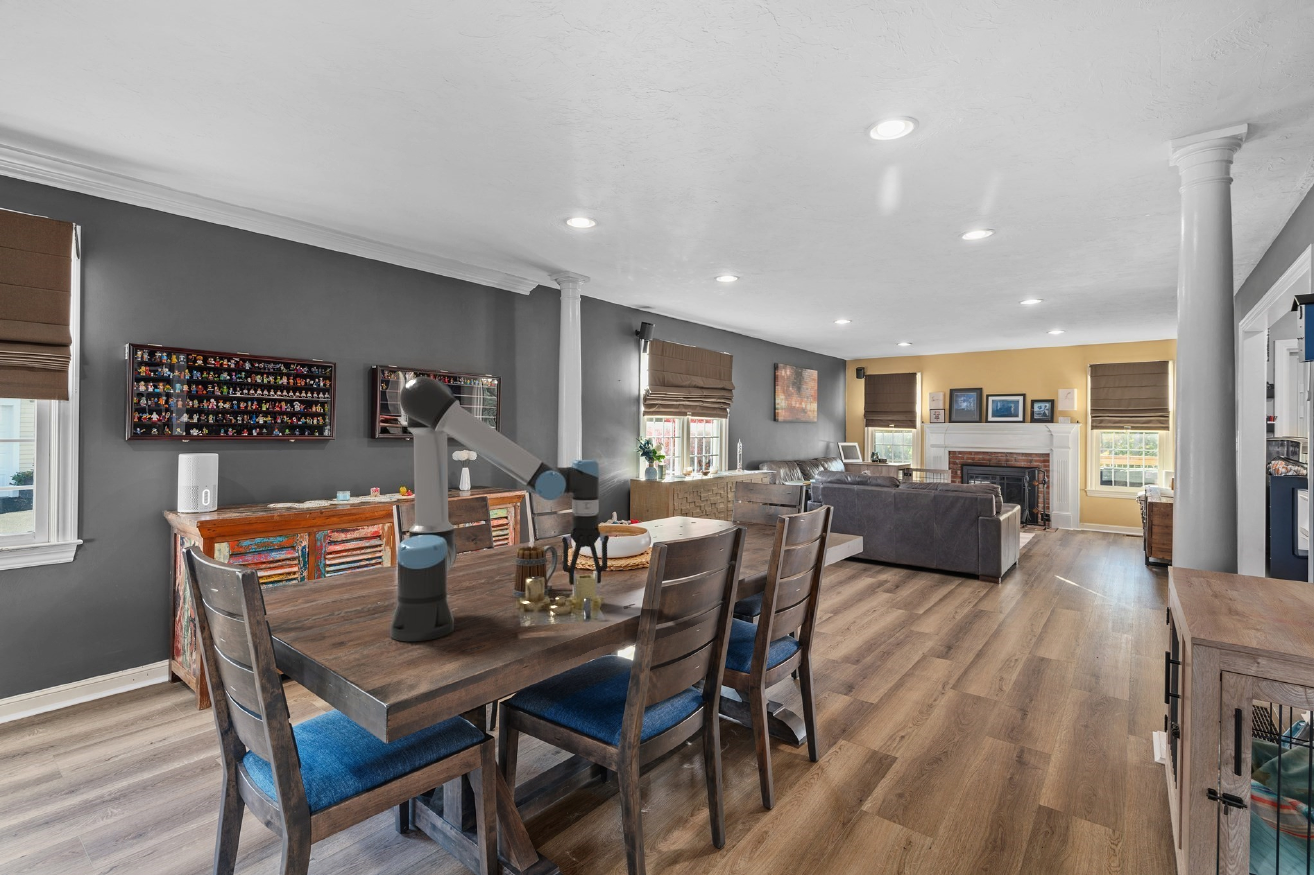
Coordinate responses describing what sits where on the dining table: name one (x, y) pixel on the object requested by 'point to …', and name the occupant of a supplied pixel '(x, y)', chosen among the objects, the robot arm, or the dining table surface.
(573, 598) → the gear
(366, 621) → the dining table surface
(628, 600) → the dining table surface
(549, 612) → the carrier
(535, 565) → the mug
